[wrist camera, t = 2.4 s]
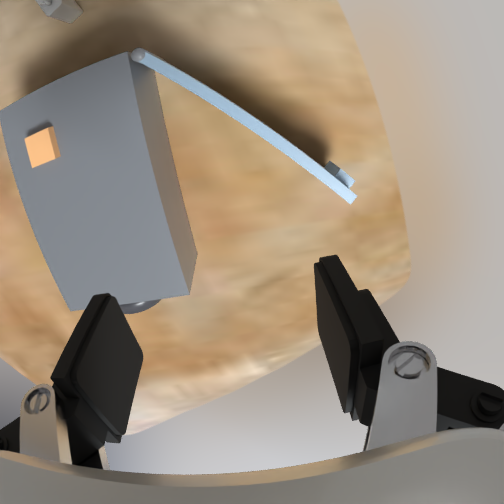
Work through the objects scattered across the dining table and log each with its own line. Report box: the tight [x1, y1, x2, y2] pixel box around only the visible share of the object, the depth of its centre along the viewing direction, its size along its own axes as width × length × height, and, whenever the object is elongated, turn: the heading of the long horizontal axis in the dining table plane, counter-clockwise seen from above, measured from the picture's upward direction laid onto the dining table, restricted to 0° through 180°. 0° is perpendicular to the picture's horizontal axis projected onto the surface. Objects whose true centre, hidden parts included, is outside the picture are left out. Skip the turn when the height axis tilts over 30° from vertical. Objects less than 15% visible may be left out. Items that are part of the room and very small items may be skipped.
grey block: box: [0, 51, 197, 314], centre depth 24 cm, size 12×21×8 cm, turn 10°
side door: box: [131, 48, 357, 204], centre depth 22 cm, size 2×19×7 cm, turn 55°
